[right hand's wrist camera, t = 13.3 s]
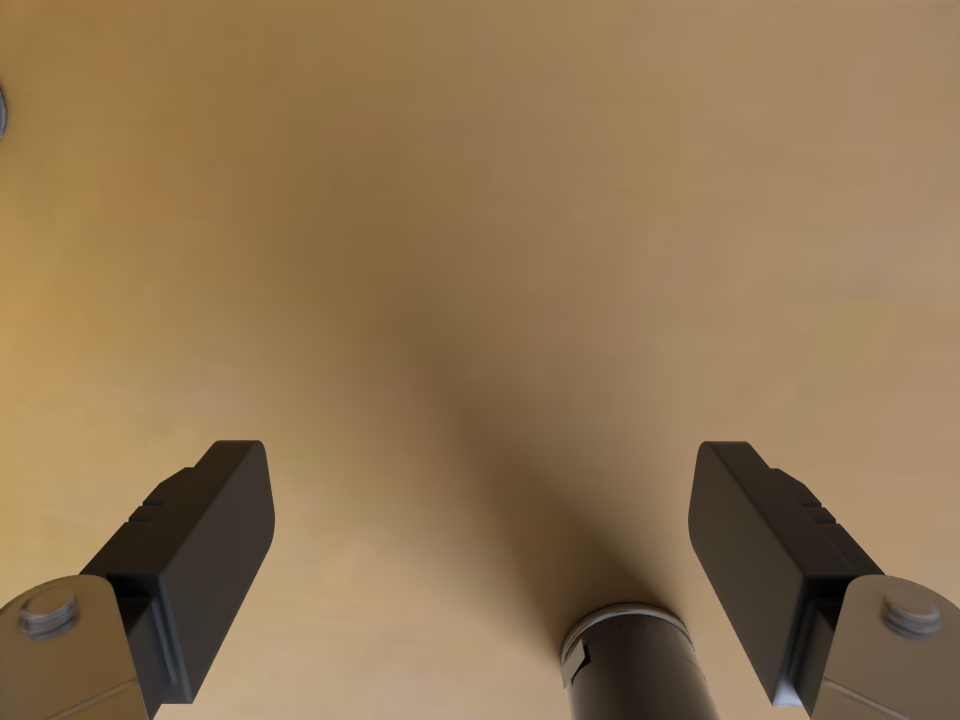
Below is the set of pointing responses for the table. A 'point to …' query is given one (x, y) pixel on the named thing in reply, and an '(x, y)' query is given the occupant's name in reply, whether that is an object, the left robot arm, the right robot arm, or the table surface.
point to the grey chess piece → (2, 114)
